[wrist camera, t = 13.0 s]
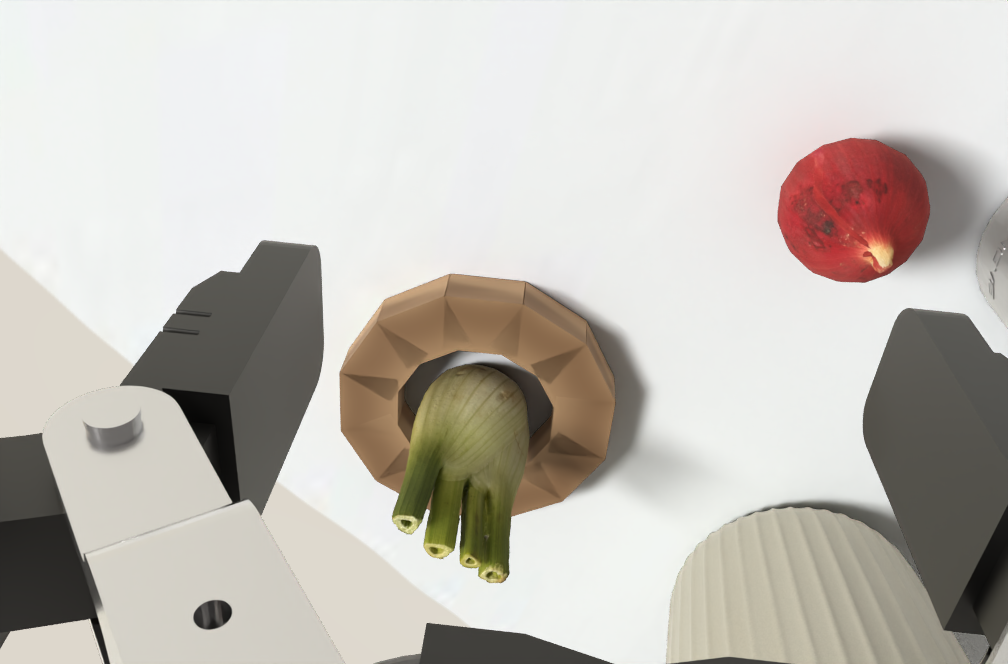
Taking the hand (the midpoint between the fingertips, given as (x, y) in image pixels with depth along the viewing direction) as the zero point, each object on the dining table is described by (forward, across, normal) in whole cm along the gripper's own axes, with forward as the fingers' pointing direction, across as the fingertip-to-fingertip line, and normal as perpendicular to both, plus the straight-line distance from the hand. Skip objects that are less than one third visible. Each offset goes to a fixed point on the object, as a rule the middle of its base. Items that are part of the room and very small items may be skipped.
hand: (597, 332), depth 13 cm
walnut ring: (+28, +3, +22) cm, 36 cm away
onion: (+28, -12, +8) cm, 32 cm away
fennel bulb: (+28, +3, +22) cm, 36 cm away
